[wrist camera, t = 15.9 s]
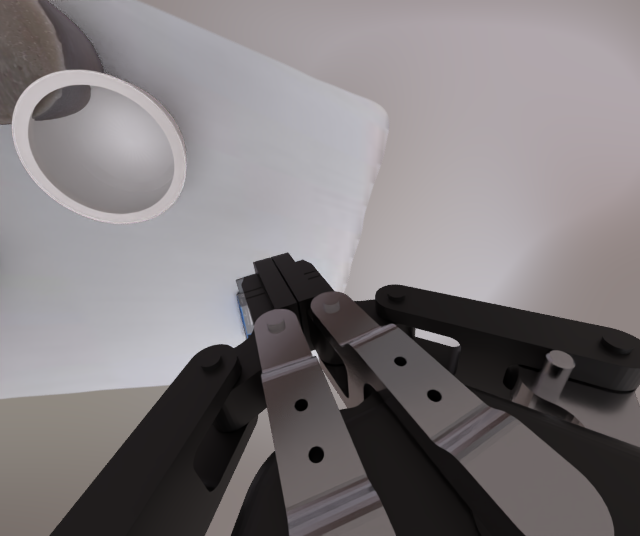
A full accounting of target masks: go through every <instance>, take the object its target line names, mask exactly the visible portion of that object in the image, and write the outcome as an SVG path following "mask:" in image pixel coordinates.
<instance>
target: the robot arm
mask: <svg viewBox="0 0 640 536" xmlns="http://www.w3.org/2000/svg"><path fill="white" fill-rule="evenodd" d="M253 264H254V269H255V273H256V274H253V275H250V276H246V277H244V279H243V282H242V284H241V286H242V289H243V292H244V296H245V299H246V302H247V306H248V309H249V312H250V316H251V319H252V322H253V325H254V329H253V331H252V333H251V335H250V336H249V337H248V339H246V340H245V341H244V342H243V343H241V344H240V345H238V346H237V347H235V348H232V347H231V346H229V345H224V344H219V345H213V346H210V347H207V348H205V349H203V350H201V351H200V352H198V353H197V354H196V355H195V356H194V357H193V358H192V359H191V360H190V361H189V363H188V364H187V365H186V366H185V368H184V369H183V370H182V371H181V373H180V374H179V375H178V376H177V378H176V379H175V380H174V381H173V383H172V384H171V385H170V386H169V388H168V389H167V390H166V391H165V393H164V394H163V395H162V396H161V398H160V399H159V400H158V401H157V403H156V404H155V405H154V406H153V407H152V409H151V410H150V411H149V412H148V414H147V415H146V416H145V418H144V419H143V420H142V421H141V422H140V424H139V425H138V426H137V428H136V429H135V430H134V431H133V432H132V434H131V435H130V436H129V437H128V439H127V440H126V441H125V442H124V444H123V445H122V446H121V447H120V449H119V450H118V451H117V452H116V453H115V455H114V456H113V457H112V459H111V460H110V461H109V462H108V463H107V465H106V466H105V467H104V468H103V470H102V471H101V472H100V473H99V475H98V476H97V477H96V479H95V480H94V481H93V482H92V484H91V485H90V486H89V487H88V488H87V490H86V491H85V492H84V493H83V495H82V496H81V497H80V498H79V500H78V501H77V502H76V503H75V504H74V506H73V507H72V508H71V510H70V511H69V512H68V513H67V515H66V516H65V517H64V518H63V520H62V521H61V522H60V523H59V525H58V526H57V527H56V528H55V529H54V531H53V532H52V533H51V534H50V536H205V533H206V532H207V529H208V527H209V525H210V523H211V521H212V519H213V517H214V514H215V512H216V510H217V508H218V506H219V504H220V501H221V499H222V497H223V495H224V493H225V491H226V488H227V486H228V484H229V482H230V480H231V478H232V475H233V473H234V471H235V469H236V467H237V465H238V462H239V460H240V458H241V456H242V454H243V452H244V449H245V447H246V445H247V443H248V441H249V439H250V437H251V434H252V432H253V430H254V428H255V426H256V423H257V419H258V414H259V413H261V412H262V411H263V410H264V409H265V408H267V410H268V416H269V421H270V426H271V432H272V437H273V443H274V447H275V451H274V452H273V453H272V454H271V455H270V456H269V457H268V458H267V460H266V461H265V462H264V464H263V465H262V466H261V468H260V469H259V471H258V472H257V474H256V476H255V477H254V479H253V481H252V483H251V485H250V487H249V489H248V492H247V494H246V497H245V499H244V502H243V505H242V507H241V510H240V513H239V515H238V518H237V520H236V523H235V526H234V528H233V531H232V534H231V536H640V406H639V403H638V400H637V397H636V394H635V390H636V389H637V387H638V386H639V385H640V340H639V339H638V338H636V337H634V336H632V335H630V334H628V333H625V332H623V331H620V330H616V329H613V328H608V327H604V326H599V325H594V324H589V323H584V322H579V321H574V320H569V319H565V318H559V317H555V316H550V315H545V314H540V313H535V312H530V311H525V310H520V309H516V308H511V307H506V306H501V305H496V304H491V303H486V302H481V301H476V300H471V299H467V298H462V297H457V296H451V295H447V294H442V293H437V292H432V291H427V290H422V289H418V288H413V287H408V286H403V285H387V286H384V287H382V288H380V289H379V290H378V291H377V292H376V295H375V300H366V301H353V300H352V299H351V298H350V297H349V296H347V295H346V294H344V293H341V292H335V291H334V290H333V289H332V288H331V286H330V285H329V284H328V283H327V282H326V280H325V279H324V278H323V277H322V276H321V274H320V273H319V272H318V271H317V270H316V268H315V267H314V266H313V265H312V264H311V263H309V262H307V261H304V260H301V261H297V262H295V261H294V260H293V258H292V257H291V256H290V254H289V253H284V254H281V255H277V256H273V257H271V258H266V259H263V260H259V261H256V262H253ZM415 328H418V329H421V330H425V331H429V332H432V333H436V334H440V335H443V336H447V337H451V338H453V339H455V340H457V341H458V342H459V344H460V346H458V347H450V346H446V345H443V344H440V343H436V342H432V341H429V340H425V339H422V338H418V337H415ZM313 350H316V352H317V353H318V357H319V361H318V359H317V357H316V356H314V357H313V356H312V353H311V351H313ZM323 371H324V373H325V374H326V376H327V377H328V379H329V380H330V382H331V383H332V385H333V387H334V388H335V390H336V391H337V393H338V394H339V396H340V397H341V399H342V400H343V402H344V403H345V405H346V407H347V409H342V410H339V409H338V406H337V404H336V401H335V399H334V397H333V394H332V392H331V389H330V387H329V385H328V382H327V380H326V378H325V375H324V373H323Z"/></svg>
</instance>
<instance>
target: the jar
mask: <svg viewBox="0 0 640 536" xmlns="http://www.w3.org/2000/svg"><path fill="white" fill-rule="evenodd" d="M71 85H90V87H91V97H90V100H89V102H88V104H87V105H86V106H85V107H84V108H83V109H82V110H80V111H79V112H77V113H75V114H72V115H69V116H66V117H62V118H58V119H52V120H43V121H34V119H32V114H33V110H34V108H35V106H36V105H37V104H38V102H39V101H40V100H41V99H42V98H43V97H44V96H46V95H47V94H49V93H50V92H52V91H54V90H56V89H59V88H62V87H66V86H71ZM12 136H13V141H14V145H15V148H16V151H17V154H18V156H19V159H20V161H21V163H22V164H23V166H24V168H25V169H26V171H27V172H28V174H29V175H30V177H31V178H32V179H33V180H34V182H35V183H36V184H37V185H38V186H39V187H40V188H41V189H42V190H43V191H44V192H45V193H46V194H47V195H49V196H50V197H51V198H52V199H54V200H55V201H56V202H58V203H59V204H61V205H62V206H64V207H66V208H67V209H69V210H71V211H73V212H75V213H77V214H79V215H82V216H84V217H87V218H90V219H93V220H96V221H100V222H105V223H112V224H133V223H139V222H143V221H147V220H150V219H152V218H155V217H157V216H159V215H160V214H162V213H163V212H165V211H166V210H167V209H169V208H170V207H171V206H172V205H173V204H174V202H175V201H176V200H177V198H178V197H179V195H180V193H181V191H182V189H183V186H184V183H185V179H186V148H185V143H184V139H183V136H182V134H181V131H180V129H179V127H178V125H177V123H176V122H175V120H174V119H173V117H172V116H171V114H170V113H169V112H168V111H167V110H166V108H165V107H164V106H163V105H162V104H161V103H160V102H159V101H157V100H156V99H155V98H154V97H153V96H151V95H150V94H149V93H147V92H146V91H144V90H142V89H141V88H139V87H137V86H135V85H133V84H131V83H128V82H126V81H123V80H121V79H119V78H116V77H114V76H111V75H108V74H105V73H101V72H96V71H90V70H64V71H58V72H54V73H51V74H48V75H46V76H43V77H41V78H39V79H38V80H36V81H35V82H33V83H32V84H31V85H29V86H28V87H27V88H26V89H25V91H24V92H23V93H22V94H21V96H20V97H19V99H18V101H17V103H16V106H15V108H14V112H13V117H12Z"/></svg>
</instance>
